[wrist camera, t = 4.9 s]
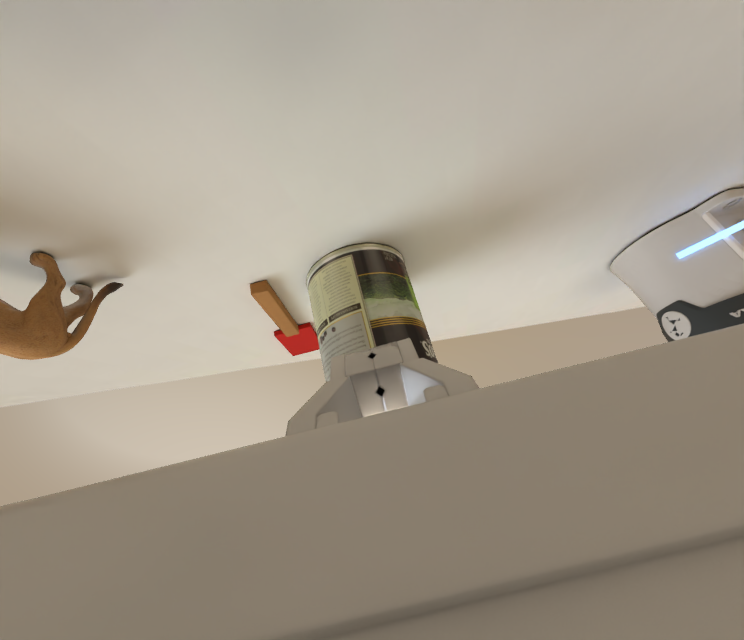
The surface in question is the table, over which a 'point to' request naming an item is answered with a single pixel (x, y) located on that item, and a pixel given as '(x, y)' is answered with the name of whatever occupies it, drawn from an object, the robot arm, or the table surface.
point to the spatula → (285, 321)
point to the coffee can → (364, 302)
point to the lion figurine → (48, 316)
